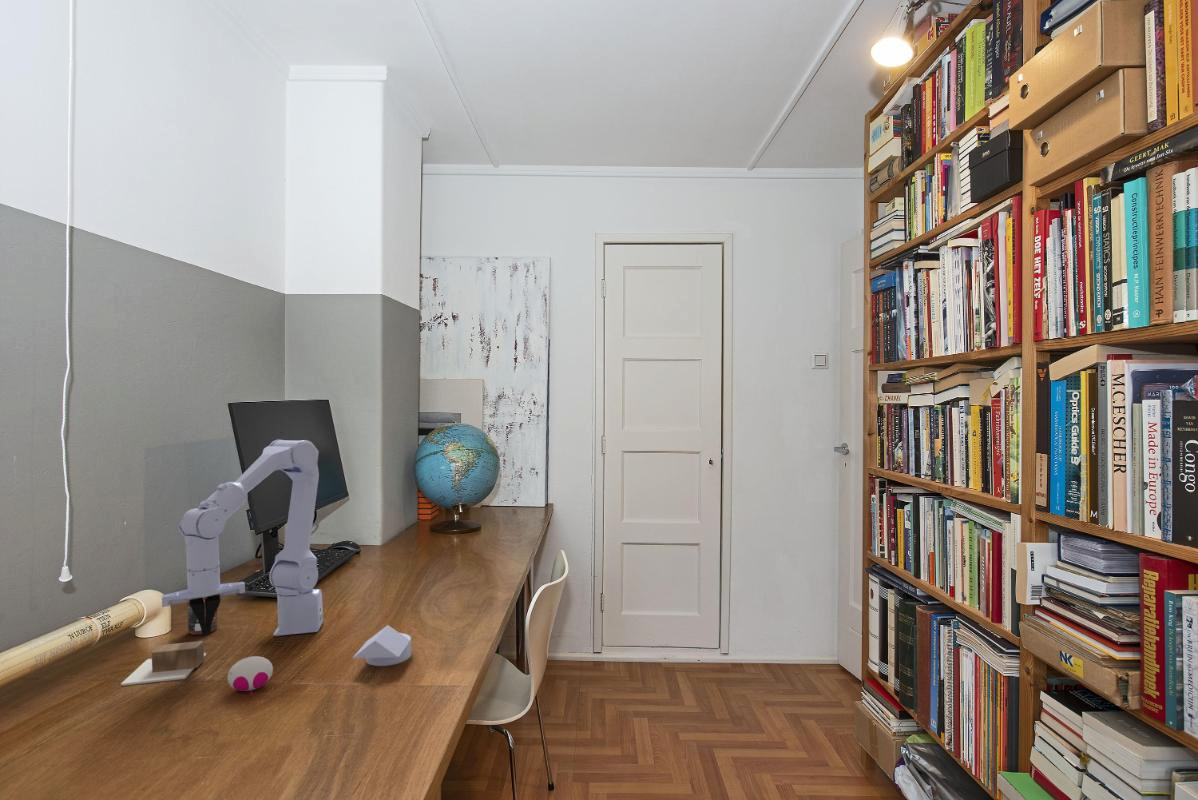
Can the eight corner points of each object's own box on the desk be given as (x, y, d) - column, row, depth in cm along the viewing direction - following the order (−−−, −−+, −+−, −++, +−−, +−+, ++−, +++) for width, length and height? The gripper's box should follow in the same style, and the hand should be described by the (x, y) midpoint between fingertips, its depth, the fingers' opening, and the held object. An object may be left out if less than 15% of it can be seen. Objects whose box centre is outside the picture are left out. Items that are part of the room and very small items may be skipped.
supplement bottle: (204, 636, 153) (202, 587, 153) (182, 635, 154) (180, 586, 154) (223, 627, 159) (222, 579, 159) (202, 626, 160) (200, 578, 160)
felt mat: (206, 654, 143) (206, 653, 142) (185, 678, 131) (185, 676, 131) (147, 660, 140) (147, 659, 140) (120, 685, 128) (120, 683, 128)
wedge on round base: (399, 674, 131) (416, 647, 144) (398, 639, 131) (415, 616, 144) (352, 675, 131) (373, 649, 144) (351, 641, 131) (372, 618, 144)
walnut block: (203, 640, 139) (159, 645, 137) (196, 648, 135) (151, 652, 133) (204, 660, 139) (160, 664, 137) (197, 667, 135) (152, 672, 133)
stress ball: (229, 714, 123) (225, 693, 119) (229, 676, 129) (226, 655, 125) (275, 703, 126) (273, 682, 123) (273, 666, 132) (271, 645, 128)
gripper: (240, 557, 144) (243, 620, 144) (160, 569, 136) (162, 636, 136) (245, 564, 138) (247, 630, 139) (161, 577, 130) (164, 647, 130)
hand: (205, 634), depth 137 cm, fingers closed
